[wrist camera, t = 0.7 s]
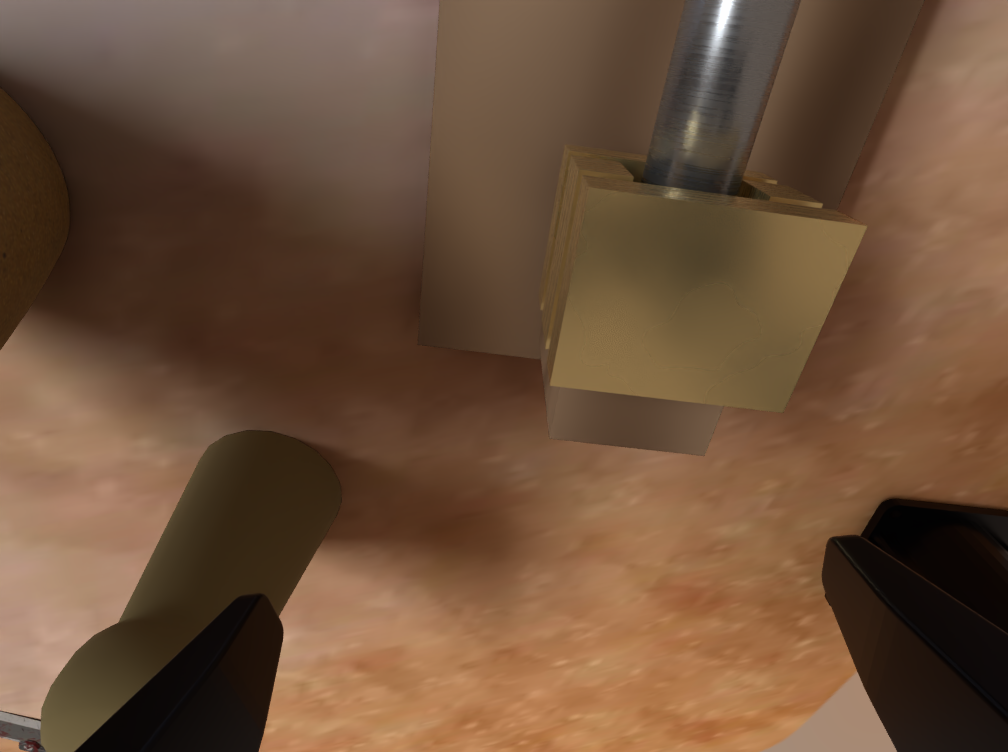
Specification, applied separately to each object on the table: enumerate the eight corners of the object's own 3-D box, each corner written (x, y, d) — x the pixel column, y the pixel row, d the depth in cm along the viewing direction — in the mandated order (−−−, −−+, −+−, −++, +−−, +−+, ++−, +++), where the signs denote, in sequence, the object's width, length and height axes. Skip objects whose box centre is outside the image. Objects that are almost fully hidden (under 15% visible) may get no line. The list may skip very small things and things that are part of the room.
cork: (363, 468, 24) (267, 750, 14) (312, 557, 26) (201, 845, 17) (220, 407, 22) (5, 675, 13) (181, 507, 25) (-21, 792, 15)
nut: (760, 171, 14) (867, 226, 10) (710, 316, 16) (782, 412, 12) (564, 143, 14) (589, 187, 10) (538, 294, 16) (549, 385, 12)
